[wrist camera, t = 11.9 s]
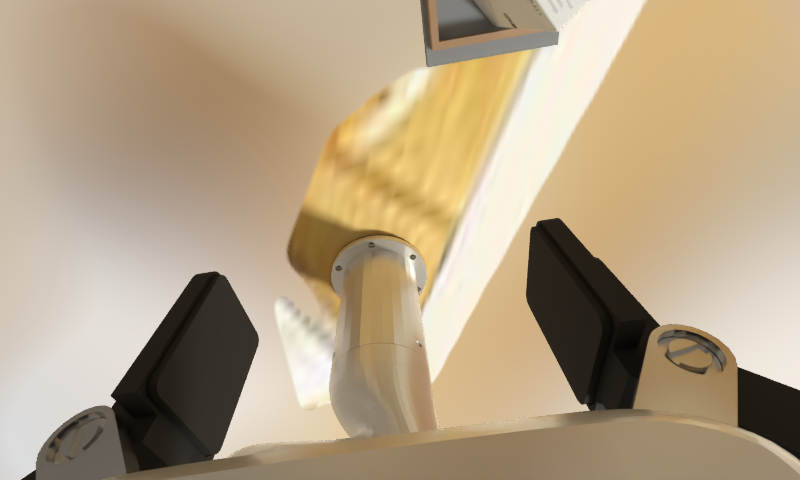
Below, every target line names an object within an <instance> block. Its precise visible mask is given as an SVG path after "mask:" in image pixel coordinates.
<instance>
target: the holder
mask: <svg viewBox="0 0 800 480" xmlns="http://www.w3.org/2000/svg"><path fill="white" fill-rule="evenodd" d="M420 1H421V12H422V22H423V32H424V42H425V53H426V62H427V67H432V66H437V65H443V64H449V63H455V62H460V61H466V60H472V59H477V58H483V57H489V56H495V55H500V54H506V53H512V52H517V51H523V50H529V49H535V48H540V47H546V46H552V45H557V44H558V37H559V31H558V32H551V31H540V30H528V29H517V28H508V27H498V26H494V25H493V24H492V23H491V22H490V21H489V20H488V19H487V17H486V16H485V15H484V13H483V12H482V11H481V9H480V8H479V7H478V6H477V4H476V3H475V2H474V0H420Z"/></svg>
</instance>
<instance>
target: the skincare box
mask: <svg viewBox="0 0 800 480" xmlns="http://www.w3.org/2000/svg"><path fill="white" fill-rule="evenodd" d="M588 1H589V0H474V2H475V3H476V4H477V6H478V7H479V8H480V9H481V11H482V12H483V13H484V15H485V16H486V17H487V19H488V20H489V21H490V22H491V23H492V24H493V25H494V26H498V27H508V28H517V29H528V30H540V31H551V32H558V31H559V30H560V29H561V28H562V27H563V26H564V25H565V24H566V23H567V22H568V21H569V20H570V19H571V18H572V17H573V16H574V15H575V14H576V13H577V12H578V11H579V10H580V9H581V8H582V7H583V6H584V5H585V4H586V3H587V2H588Z"/></svg>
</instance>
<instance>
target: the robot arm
mask: <svg viewBox="0 0 800 480" xmlns="http://www.w3.org/2000/svg"><path fill="white" fill-rule="evenodd" d="M527 275H528V276H527V289H526V298H527V302H528V305H529V307H530V309H531V311H532V313H533V315H534V317H535V319H536V321H537V322H538V324H539V326H540V328H541V330H542V332H543V334H544V336H545V338H546V340H547V342H548V344H549V346H550V348H551V350H552V351H553V353H554V355H555V357H556V359H557V361H558V363H559V365H560V367H561V369H562V371H563V373H564V375H565V377H566V378H567V381H568V382H569V384H570V386H571V388H572V390H573V392H574V394H575V396H576V398H577V400H578V401H579V402H580V403H581V404H587V406H588V408H589V410H590V411H583V412H575V413H565V414H556V415H548V416H539V417H530V418H521V419H513V420H505V421H498V422H490V423H483V424H475V425H467V426H460V427H451V428H444V429H440V427H439V423H438V418H437V414H436V409H435V404H434V398H433V392H432V386H431V379H430V372H429V365H428V358H427V351H426V344H425V337H424V330H423V323H422V317H421V310H420V303H419V295H420V294H421V293H422V291H423V289H424V287H425V285H426V281H427V269H426V264H425V262H424V259H423V257H422V256H421V254H420V253H419V251H418V250H417V249H416V248H415V247H413V246H412V245H411V244H409V243H408V242H406V241H404V240H401V239H399V238H396V237H391V236H385V235H375V236H367V237H364V238H360V239H358V240H355V241H353V242H351V243H350V244H348V245H347V246H346V247H344V248H343V249H342V250H341V251H340V252H339V254H338V255H337V257H336V259H335V260H334V263H333V267H332V273H331V280H332V285H333V288H334V290H335V292H336V293H337V295H338V296H339V297H340V306H339V313H338V321H337V329H336V336H335V344H334V352H333V359H332V368H331V375H330V384H329V392H330V400H331V404H332V407H333V410H334V412H335V414H336V416H337V419H338V420H339V422H340V424H341V425H342V427H343V428H344V430H345V431H346V433H347V434H348V436H349V437H350V438H346V439H336V440H328V441H327V440H326V441H301V442H280V443H266V444H258V445H252V446H248V447H245V448H242V449H240V450H238V451H236V452H234V453H233V454H231V455H230V456H229V457H227V458H224V459H217V460H213V458H214V455H215V454H217V453H218V452H219V451H220V450H221V447H222V445H223V442H224V439H225V436H226V434H227V431H228V428H229V425H230V422H231V419H232V417H233V414H234V411H235V408H236V406H237V403H238V400H239V397H240V394H241V392H242V389H243V386H244V383H245V380H246V378H247V375H248V372H249V369H250V366H251V364H252V361H253V358H254V355H255V353H256V350H257V347H258V342H259V338H258V334H257V332H256V330H255V328H254V326H253V325H252V323H251V321H250V319H249V317H248V316H247V314H246V312H245V310H244V309H243V307H242V305H241V303H240V301H239V299H238V298H237V296H236V294H235V292H234V290H233V289H232V287H231V285H230V283H229V282H228V280H227V278H226V277H225V276H224V275H220V274H219V273H218V272H215V271H214V272H208V273H202V274H197V275H195V276H194V277H193V278H192V279H191V281H190V282H189V284H188V285H187V287H186V288H185V289H184V291H183V292H182V294H181V295H180V297H179V298H178V299H177V301H176V302H175V304H174V305H173V307H172V308H171V309H170V311H169V312H168V314H167V315H166V317H165V318H164V319H163V321H162V322H161V324H160V325H159V327H158V328H157V330H156V331H155V332H154V334H153V335H152V337H151V338H150V340H149V341H148V343H147V344H146V346H145V347H144V348H143V350H142V351H141V353H140V354H139V355H138V357H137V358H136V360H135V361H134V363H133V364H132V366H131V367H130V368H129V370H128V371H127V373H126V374H125V376H124V377H123V379H122V380H121V381H120V383H119V384H118V386H117V387H116V389H115V390H114V392H113V393H112V394H111V397H113V398H114V399H115V400H116V402H115V403H114V405H113V406H112V408H110V407H108V406H95V407H92V408H89V409H87V410H84V411H82V412H80V413H79V414H77V415H75V416H73V417H72V418H71V419H69V420H68V421H66V422H65V423H63V425H61V426H60V427H59V428H58V429H57V430H56V431H55V432H53V434H52V435H51V436H50V437H49V438H48V440H47V441H46V442H45V443H44V445H43V447H42V448H41V450H40V452H39V453H38V457H37V461H36V470H35V471H33V472H32V473H30V474H29V475H27V476H26V477H24V478H23V479H22V480H800V390H797V389H794V388H792V387H789V386H787V385H784V384H781V383H779V382H776V381H773V380H770V379H768V378H766V377H763V376H760V375H758V374H754V373H752V372H750V371H747V370H744V369H742V368H739V367H737V363H736V359H735V356H734V355H733V354H732V352H731V351H730V349H729V348H728V347H727V346H725V345H724V344H723V343H722V342H721V341H720V340H719V339H717V338H715V337H714V336H712V335H710V334H708V333H707V332H704V331H702V330H699V329H696V328H694V327H689V326H685V325H677V324H668V325H663V326H660V325H659V324H658V323H657V322H656V321H655V320H654V319H653V317H652V316H651V315H650V314H649V313H648V312H647V311H646V310H645V309H644V307H643V306H642V305H641V304H640V303H639V302H638V301H637V300H636V299H635V297H634V296H633V295H632V294H631V293H630V292H629V291H628V290H627V289H626V288H625V286H624V285H623V284H622V283H621V282H620V281H619V280H618V279H617V277H616V276H615V275H614V274H613V273H612V272H611V271H610V270H609V269H608V268H607V266H606V265H605V264H604V263H603V262H602V261H601V260H600V259H598V258H595V257H593V255H591V253H590V252H589V251H588V250H587V249H586V248H585V247H584V245H583V244H582V243H581V242H580V241H579V240H578V239H577V238H576V236H575V235H574V234H573V233H572V232H571V231H570V229H569V228H568V227H567V226H566V225H565V224H564V223H563V222H562V220H560V219H559V218H555V219H549V220H542V221H538V222H537V224H536V226H535V227H532V228H531V233H530V246H529V261H528V274H527Z"/></svg>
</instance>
